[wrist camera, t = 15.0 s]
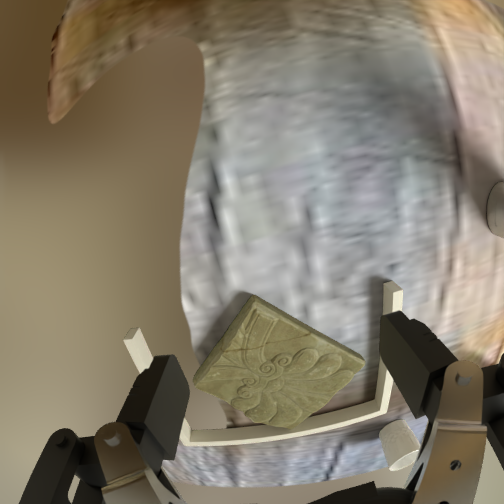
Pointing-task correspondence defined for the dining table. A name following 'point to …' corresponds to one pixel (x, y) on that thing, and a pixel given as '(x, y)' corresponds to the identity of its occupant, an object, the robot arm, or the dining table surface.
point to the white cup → (399, 444)
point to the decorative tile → (275, 366)
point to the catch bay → (271, 433)
